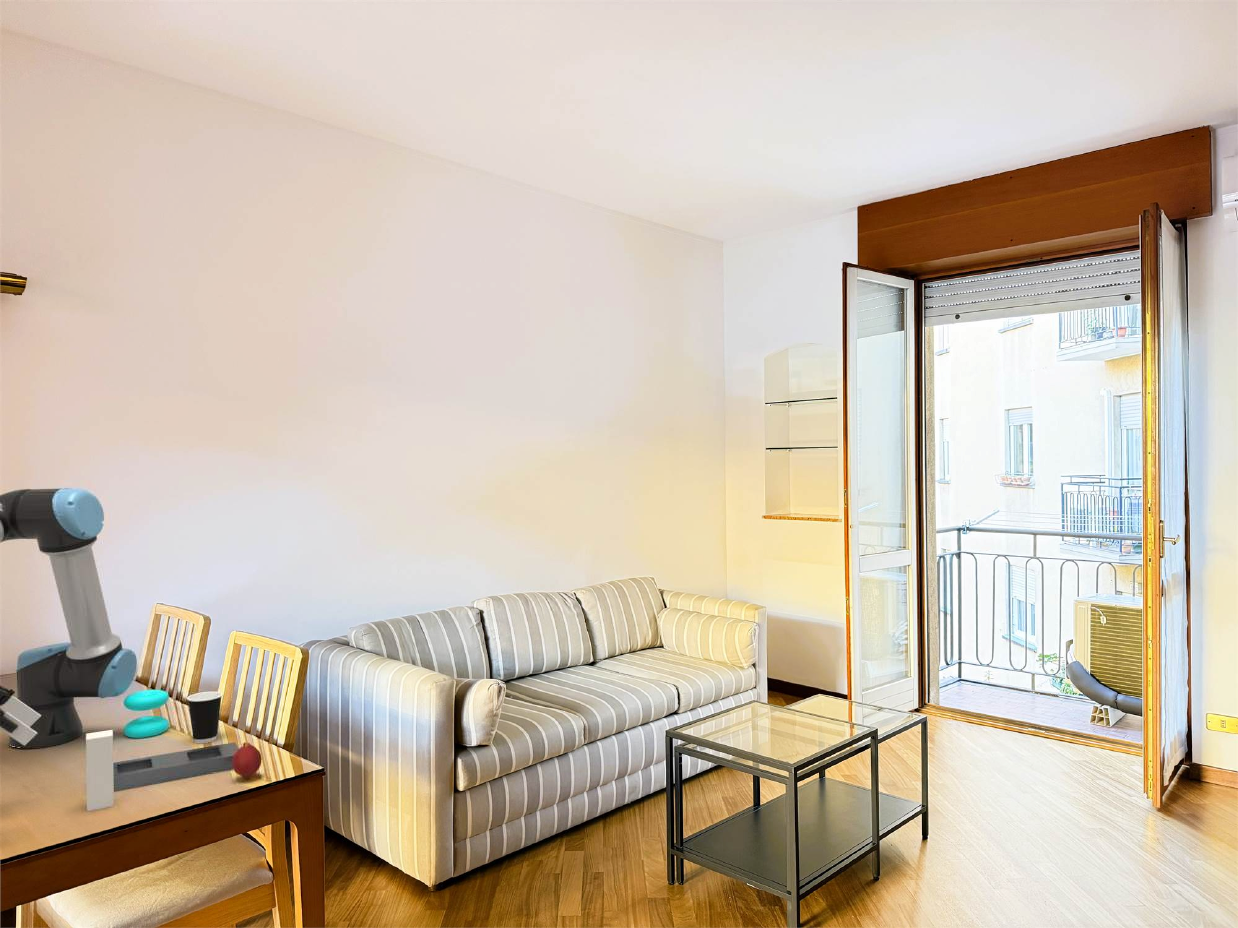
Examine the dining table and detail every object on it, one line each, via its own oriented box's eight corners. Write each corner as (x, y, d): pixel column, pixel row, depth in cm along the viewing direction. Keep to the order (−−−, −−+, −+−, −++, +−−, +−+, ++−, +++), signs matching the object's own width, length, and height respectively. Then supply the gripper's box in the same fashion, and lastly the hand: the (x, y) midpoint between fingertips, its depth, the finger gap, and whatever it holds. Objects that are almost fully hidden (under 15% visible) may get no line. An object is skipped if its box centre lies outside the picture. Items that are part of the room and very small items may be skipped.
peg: (86, 811, 165) (86, 739, 165) (87, 803, 169) (86, 733, 169) (113, 805, 167) (112, 735, 167) (113, 798, 171) (112, 729, 171)
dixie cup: (179, 743, 206) (179, 698, 206) (207, 733, 213) (206, 690, 213) (203, 747, 202) (202, 701, 202) (230, 737, 210) (229, 692, 210)
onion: (238, 774, 184) (237, 737, 184) (265, 772, 185) (265, 736, 185) (228, 783, 178) (227, 746, 178) (256, 782, 179) (255, 744, 179)
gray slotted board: (93, 794, 173) (93, 780, 173) (93, 779, 182) (93, 765, 182) (241, 767, 188) (241, 754, 188) (235, 754, 196) (235, 741, 196)
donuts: (173, 687, 220) (161, 697, 210) (174, 725, 220) (161, 737, 210) (131, 689, 218) (117, 700, 208) (132, 728, 218) (117, 740, 208)
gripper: (-75, 665, 164) (21, 729, 171) (-99, 693, 142) (10, 764, 150) (-40, 635, 166) (52, 699, 174) (-60, 657, 145) (46, 729, 153)
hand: (33, 729), depth 162 cm, fingers open, 13 cm apart
